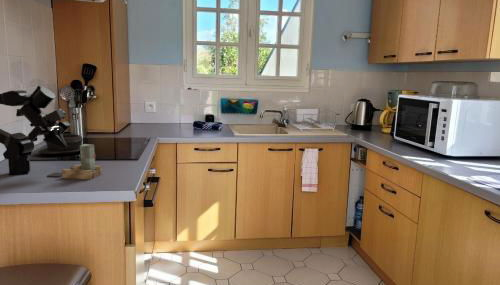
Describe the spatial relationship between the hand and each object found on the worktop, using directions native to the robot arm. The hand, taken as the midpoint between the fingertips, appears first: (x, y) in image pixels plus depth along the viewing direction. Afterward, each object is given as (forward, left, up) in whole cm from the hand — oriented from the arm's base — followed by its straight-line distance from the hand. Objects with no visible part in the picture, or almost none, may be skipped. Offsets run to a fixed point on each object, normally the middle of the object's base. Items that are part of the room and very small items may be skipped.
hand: (66, 147), depth 144 cm
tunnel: (+5, -3, -11) cm, 12 cm away
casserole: (-2, +50, -11) cm, 51 cm away
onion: (+8, +17, -11) cm, 22 cm away
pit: (-4, +1, -11) cm, 11 cm away
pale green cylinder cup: (+7, -4, -11) cm, 14 cm away
